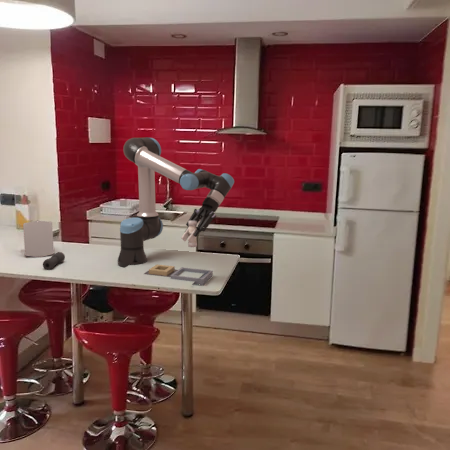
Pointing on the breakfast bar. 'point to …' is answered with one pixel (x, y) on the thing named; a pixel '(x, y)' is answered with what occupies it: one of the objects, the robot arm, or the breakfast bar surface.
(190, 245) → the fuse
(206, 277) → the grey rectangular frame
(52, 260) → the flashlight
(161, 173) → the robot arm
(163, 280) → the breakfast bar surface
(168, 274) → the yellow rectangular tray
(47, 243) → the electrical switch box
